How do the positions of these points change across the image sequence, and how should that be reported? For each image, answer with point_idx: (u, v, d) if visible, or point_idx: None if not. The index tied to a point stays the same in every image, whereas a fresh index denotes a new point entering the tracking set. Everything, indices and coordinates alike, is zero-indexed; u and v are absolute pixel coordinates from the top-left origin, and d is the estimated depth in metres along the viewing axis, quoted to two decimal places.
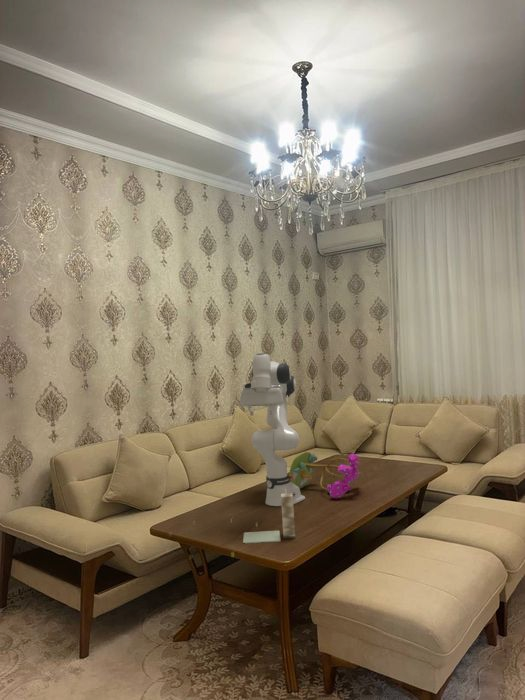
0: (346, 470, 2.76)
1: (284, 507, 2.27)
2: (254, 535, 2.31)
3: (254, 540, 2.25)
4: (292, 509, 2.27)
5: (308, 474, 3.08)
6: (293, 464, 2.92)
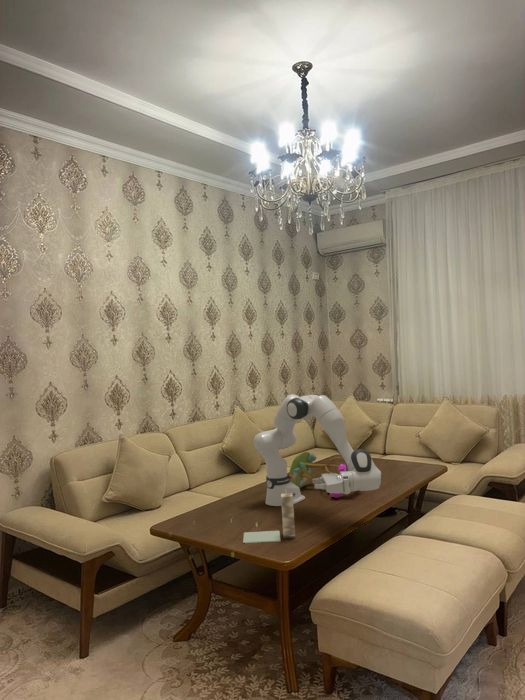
0: (346, 469, 2.78)
1: (284, 507, 2.27)
2: (254, 535, 2.31)
3: (254, 540, 2.25)
4: (292, 509, 2.27)
5: (307, 474, 3.09)
6: (293, 464, 2.93)
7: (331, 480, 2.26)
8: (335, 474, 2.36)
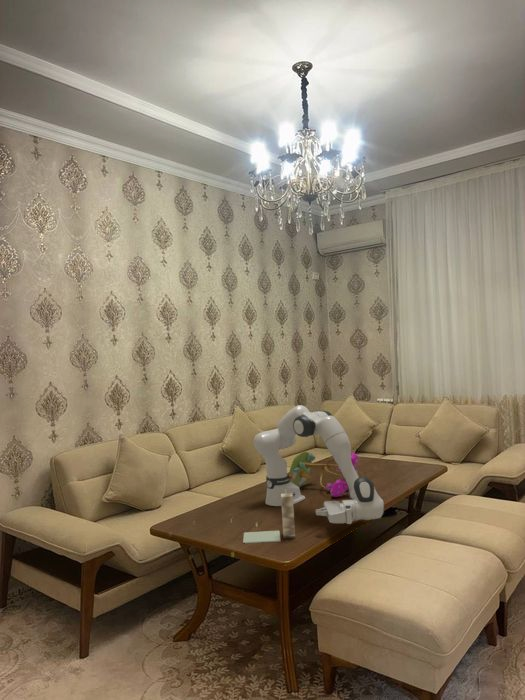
0: None
1: (284, 507, 2.27)
2: (254, 535, 2.31)
3: (254, 540, 2.25)
4: (292, 509, 2.27)
5: (306, 473, 3.10)
6: (293, 464, 2.93)
7: (333, 509, 2.26)
8: (337, 502, 2.36)
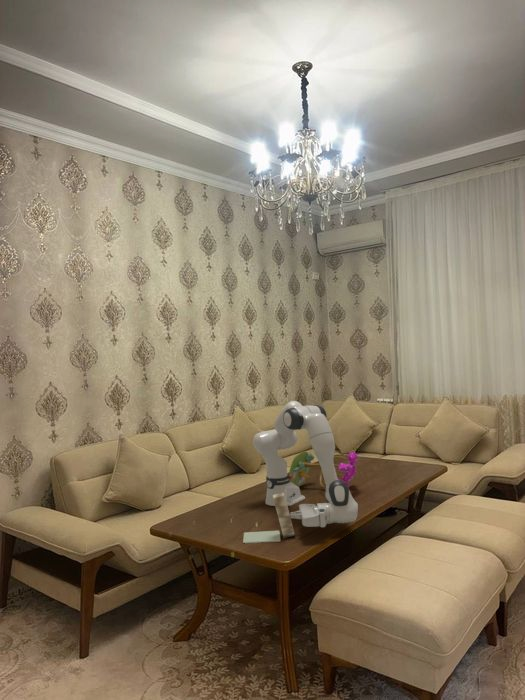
0: (347, 468, 2.81)
1: (278, 508, 2.27)
2: (254, 535, 2.31)
3: (254, 540, 2.25)
4: (286, 508, 2.27)
5: (305, 473, 3.11)
6: (293, 463, 2.94)
7: (307, 512, 2.27)
8: (312, 505, 2.37)
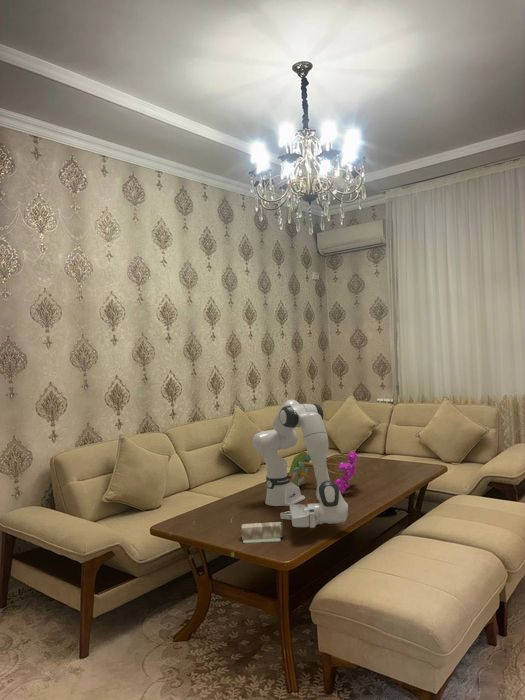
0: (347, 468, 2.82)
1: (253, 536, 2.27)
2: None
3: (254, 540, 2.25)
4: (254, 528, 2.27)
5: (304, 473, 3.11)
6: (292, 463, 2.94)
7: (297, 513, 2.26)
8: (303, 505, 2.36)
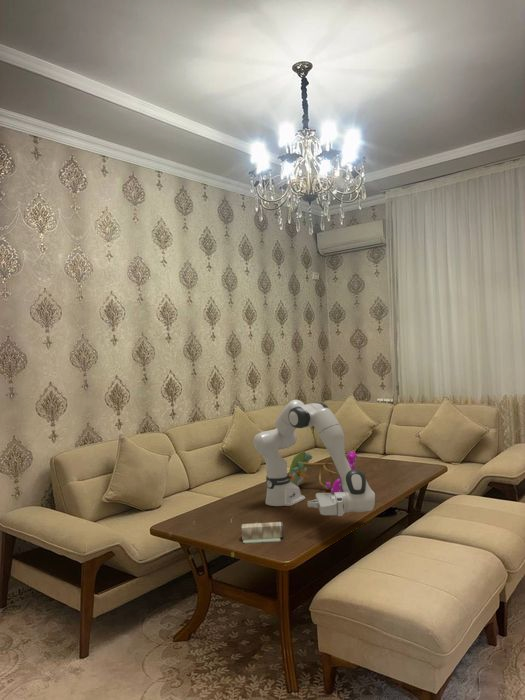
0: None
1: (253, 536, 2.27)
2: None
3: (254, 540, 2.25)
4: (254, 528, 2.27)
5: (303, 473, 3.12)
6: (292, 463, 2.94)
7: (325, 501, 2.27)
8: (329, 494, 2.37)
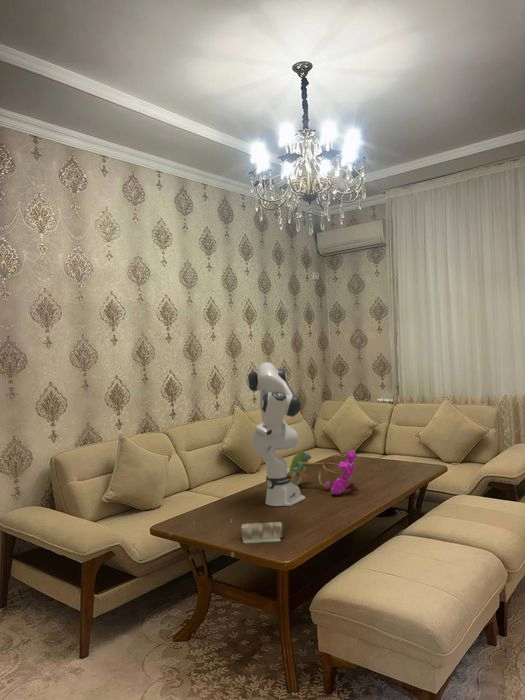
0: (347, 466, 2.84)
1: (253, 536, 2.27)
2: None
3: (254, 540, 2.25)
4: (254, 528, 2.27)
5: (302, 473, 3.12)
6: (292, 463, 2.95)
7: None
8: None
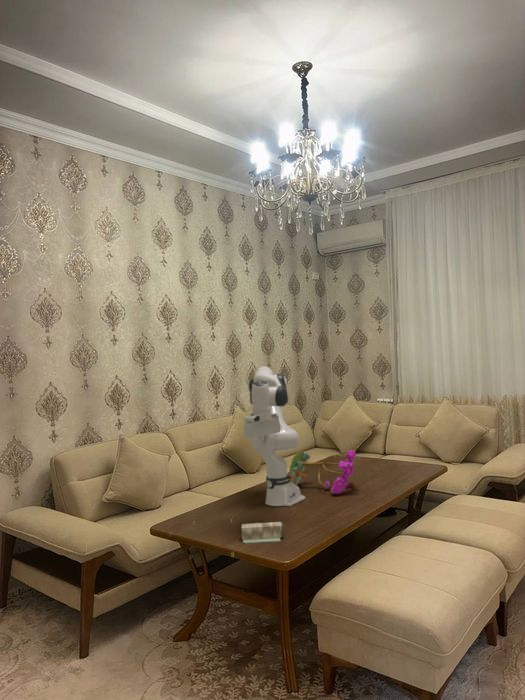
0: (347, 466, 2.85)
1: (253, 536, 2.27)
2: None
3: (254, 540, 2.25)
4: (254, 528, 2.27)
5: (301, 472, 3.13)
6: (292, 463, 2.95)
7: None
8: None
